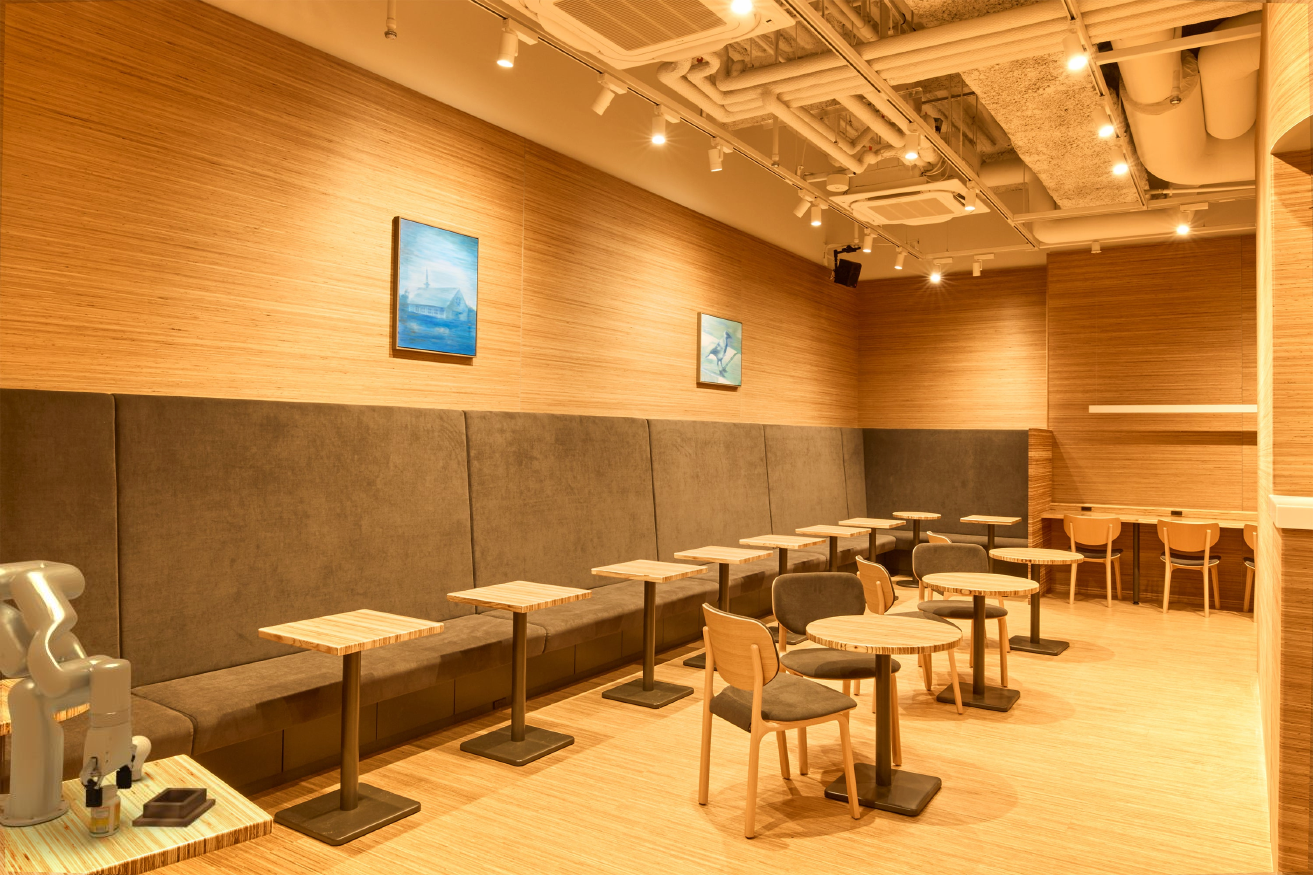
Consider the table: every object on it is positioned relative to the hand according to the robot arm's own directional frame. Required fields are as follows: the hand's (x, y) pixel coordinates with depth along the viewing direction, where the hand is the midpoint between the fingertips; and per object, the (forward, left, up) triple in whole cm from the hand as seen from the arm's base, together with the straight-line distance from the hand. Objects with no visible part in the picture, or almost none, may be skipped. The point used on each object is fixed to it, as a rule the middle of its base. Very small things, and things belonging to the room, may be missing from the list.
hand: (109, 797), depth 176 cm
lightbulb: (-12, +28, -8) cm, 32 cm away
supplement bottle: (-1, 0, -8) cm, 8 cm away
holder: (+9, +9, -8) cm, 15 cm away
